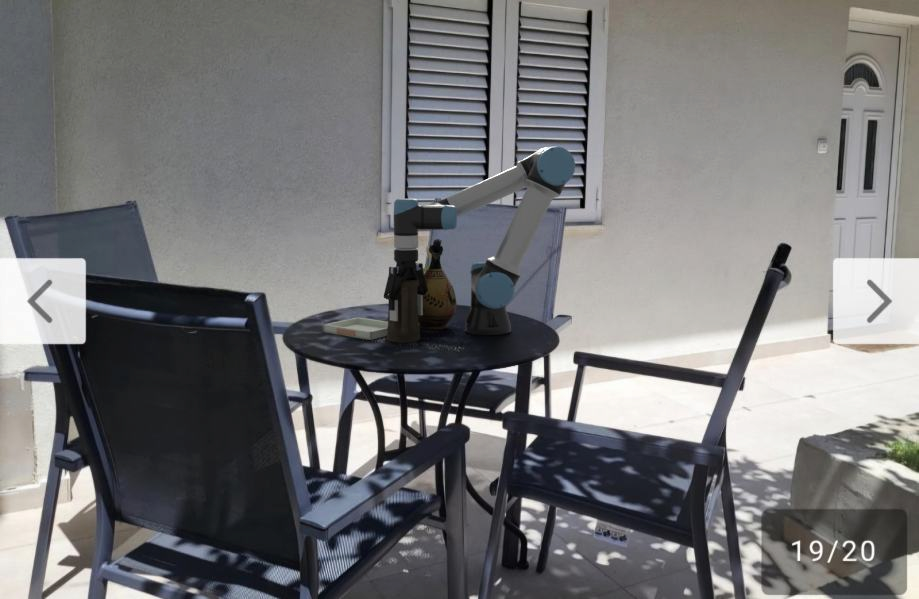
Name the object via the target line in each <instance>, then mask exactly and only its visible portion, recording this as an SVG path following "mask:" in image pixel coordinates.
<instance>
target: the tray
mask: <svg viewBox="0 0 919 599" xmlns="http://www.w3.org/2000/svg"><path fill="white" fill-rule="evenodd" d="M387 327H388V321H385V320H379V319H371V318H366V317H359V316H358V317H354V318H348V319H344V320H338V321H333V322H329V323H325V324H324V323H323V324H322V332H323V333H326V334H331V335H332V334H333V335H339V336H344V337H349V338H350V337H351V338H357V339H362V340H369V341H372V340H376V339H380V338H384V337H387V334H388V331H387Z"/></svg>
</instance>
